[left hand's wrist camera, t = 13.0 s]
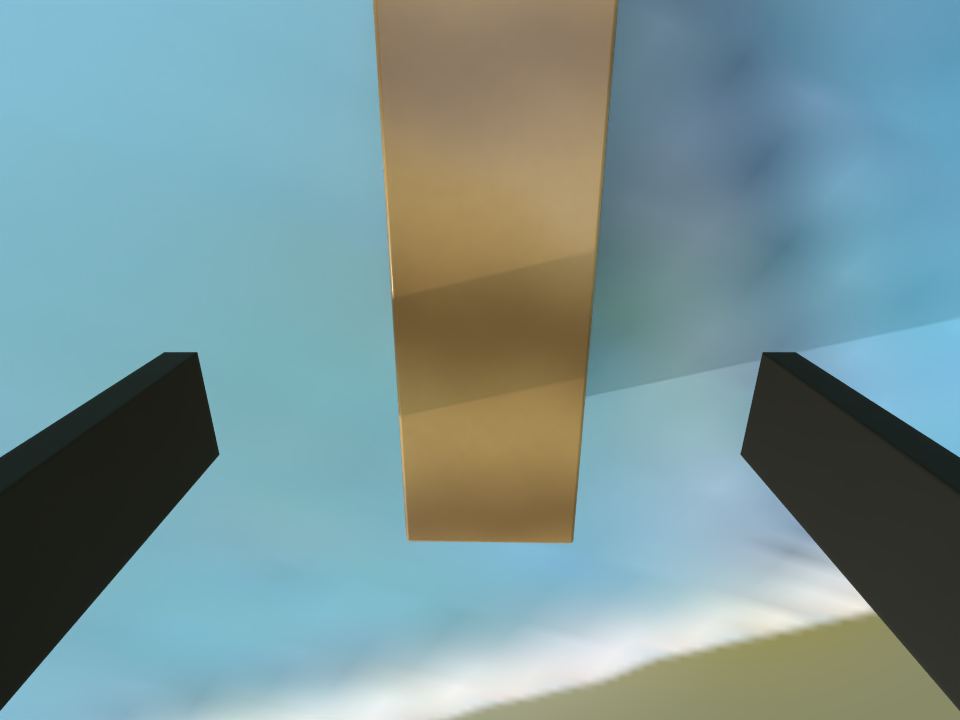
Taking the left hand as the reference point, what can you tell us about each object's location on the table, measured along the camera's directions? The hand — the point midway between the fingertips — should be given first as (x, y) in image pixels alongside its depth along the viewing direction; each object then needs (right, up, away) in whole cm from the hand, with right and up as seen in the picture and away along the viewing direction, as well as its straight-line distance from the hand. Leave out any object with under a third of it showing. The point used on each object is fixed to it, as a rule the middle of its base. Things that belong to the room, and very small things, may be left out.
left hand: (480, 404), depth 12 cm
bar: (0, +29, -3) cm, 29 cm away
